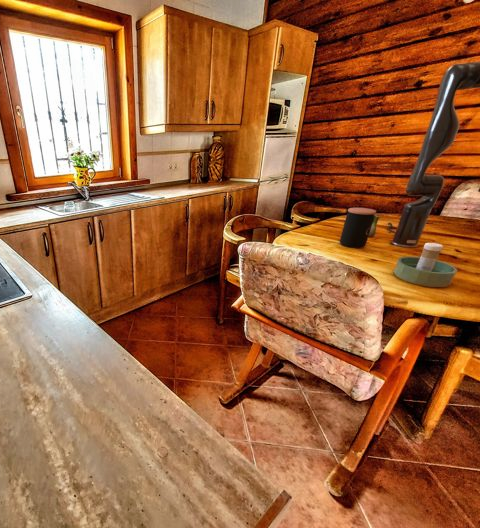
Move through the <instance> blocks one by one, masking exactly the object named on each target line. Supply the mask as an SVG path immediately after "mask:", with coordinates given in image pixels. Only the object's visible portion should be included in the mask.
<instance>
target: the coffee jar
mask: <svg viewBox="0 0 480 528" xmlns="http://www.w3.org/2000/svg"><path fill="white" fill-rule="evenodd" d="M347 212H348V213H347V214H346V216H345V220H344V224H343V228H342V231H341V234H340V239H339V243H340V245H341V246H343V247H345V248H350V249H363V248H364V247H366V245H367V242H368V239H369V237H368V236H369V233H370V230H371V227H372V224H373V221H374V217H375V216H374V215H376V213H377V210H376V209H373V208H366V207H350V208H348V210H347Z"/></svg>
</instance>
